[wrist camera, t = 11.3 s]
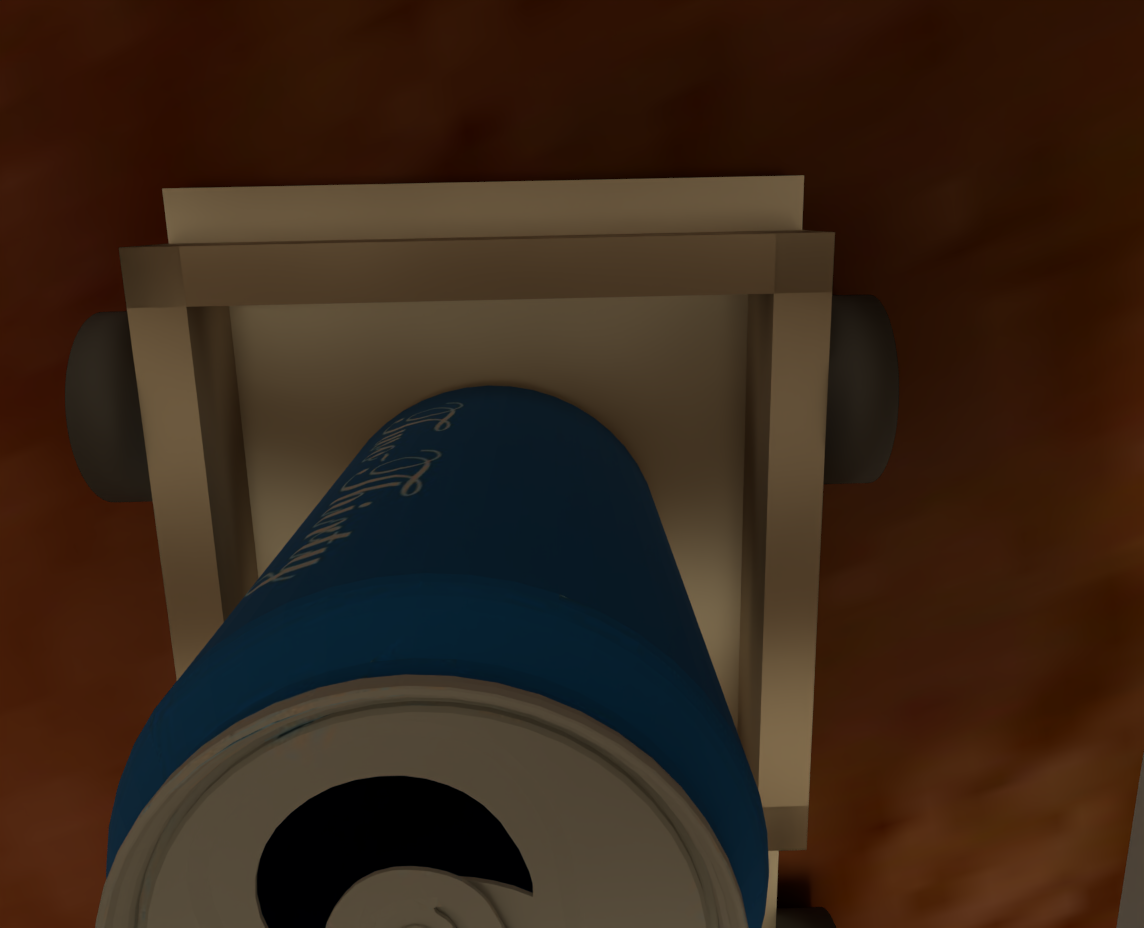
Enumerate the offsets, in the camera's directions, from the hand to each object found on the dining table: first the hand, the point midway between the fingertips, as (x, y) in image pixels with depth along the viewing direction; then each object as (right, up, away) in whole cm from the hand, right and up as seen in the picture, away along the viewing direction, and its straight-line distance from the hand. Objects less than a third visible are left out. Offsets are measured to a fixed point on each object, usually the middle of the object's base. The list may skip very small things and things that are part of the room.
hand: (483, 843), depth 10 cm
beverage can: (-1, +2, +10) cm, 11 cm away
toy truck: (-1, -1, +12) cm, 12 cm away
